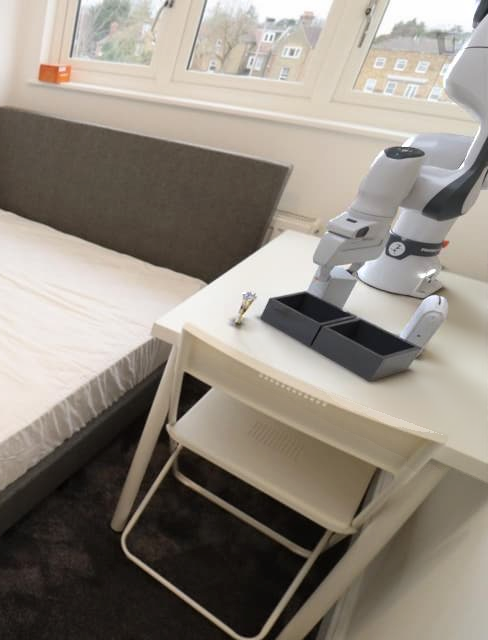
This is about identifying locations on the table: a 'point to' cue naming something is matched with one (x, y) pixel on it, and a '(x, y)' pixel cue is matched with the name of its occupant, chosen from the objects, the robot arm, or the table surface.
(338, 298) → the small box
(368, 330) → the basin
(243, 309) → the ring
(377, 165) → the robot arm
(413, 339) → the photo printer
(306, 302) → the basin
